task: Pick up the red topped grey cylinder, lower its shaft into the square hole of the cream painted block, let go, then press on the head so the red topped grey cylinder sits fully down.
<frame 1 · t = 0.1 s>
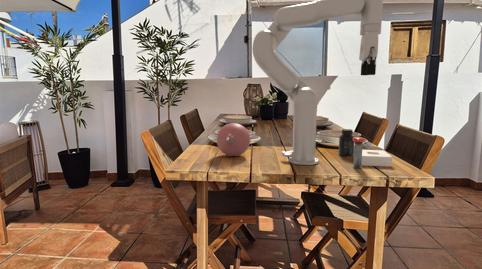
hand: (367, 75, 125), 37 cm above the table, tool pointing down, fingers open, 9 cm apart
socket block: (372, 162, 135), on the table
pink rounded piece: (232, 157, 144), on the table
supplement bottle: (346, 155, 148), on the table
red topped grey cylinder: (357, 167, 126), on the table
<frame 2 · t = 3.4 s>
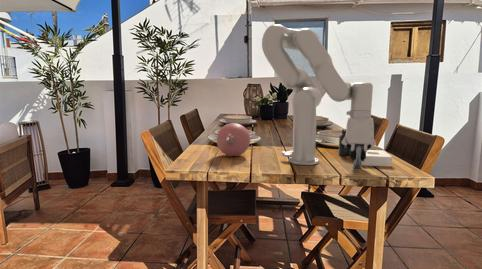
hand: (357, 159, 126), 3 cm above the table, tool pointing down, fingers closed on red topped grey cylinder, 3 cm apart
red topped grey cylinder: (357, 167, 126), on the table, touching gripper
everything else where it was.
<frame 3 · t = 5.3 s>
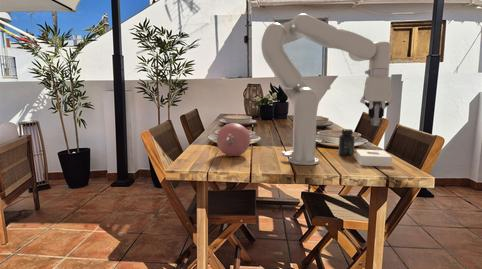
hand: (375, 117, 131), 19 cm above the table, tool pointing down, fingers closed on red topped grey cylinder, 3 cm apart
red topped grey cylinder: (375, 125, 132), point 16 cm above the table, touching gripper
everything else where it was.
when the fingers open (5 cm above the table, at t = 7.4 s): red topped grey cylinder drops 2 cm, resting in socket block.
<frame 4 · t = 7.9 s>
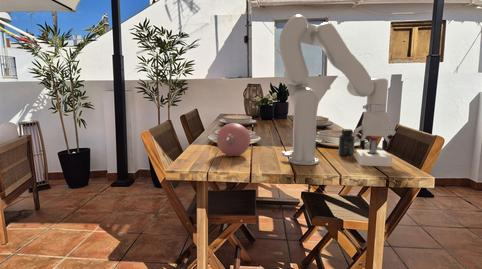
hand: (373, 149, 134), 6 cm above the table, tool pointing down, fingers open, 8 cm apart
red topped grey cylinder: (372, 162, 135), resting in socket block
everything else where it was.
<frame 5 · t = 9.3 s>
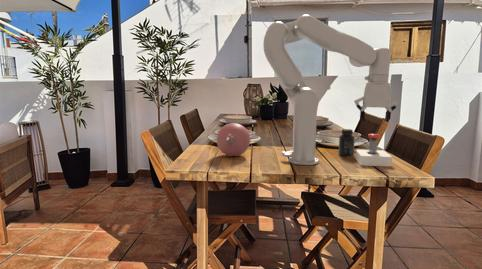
hand: (374, 121, 132), 18 cm above the table, tool pointing down, fingers open, 9 cm apart
nothing on the table moved.
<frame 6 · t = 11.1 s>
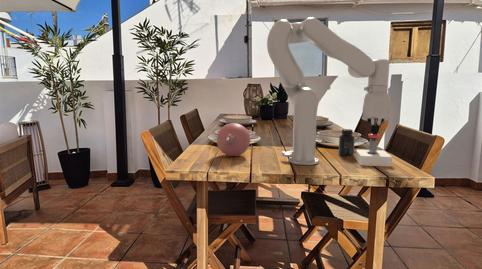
hand: (374, 134, 133), 12 cm above the table, tool pointing down, fingers closed
nothing on the table moved.
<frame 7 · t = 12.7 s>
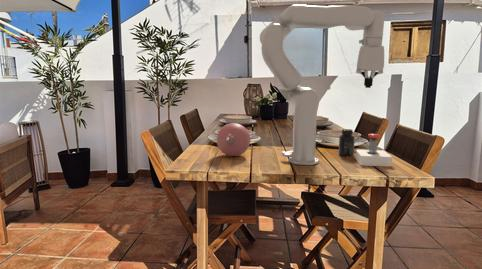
hand: (367, 87, 134), 31 cm above the table, tool pointing down, fingers closed
nothing on the table moved.
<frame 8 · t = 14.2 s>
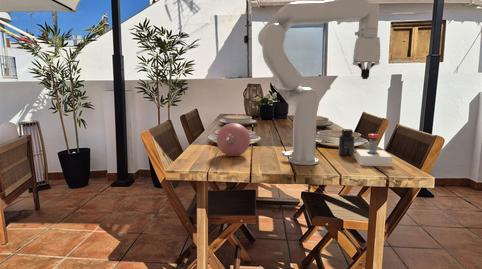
hand: (364, 78, 135), 35 cm above the table, tool pointing down, fingers closed
nothing on the table moved.
at the end: red topped grey cylinder 0.1 cm off-centre on the socket block, point 0.0 cm above the socket block's base; red topped grey cylinder tilted 0°; the gripper is holding nothing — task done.
